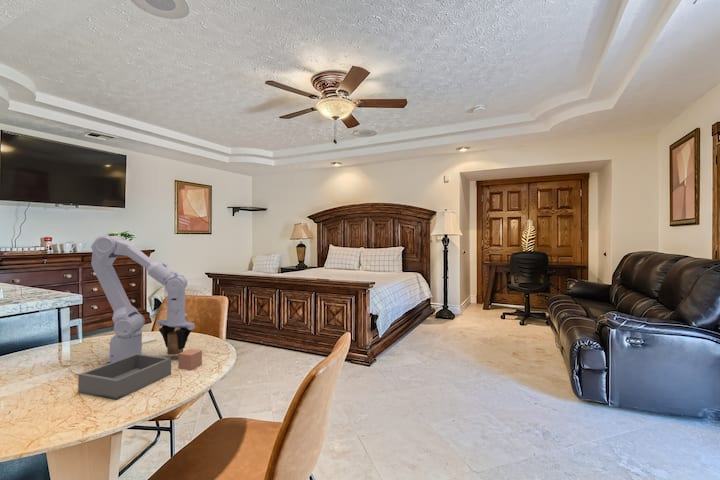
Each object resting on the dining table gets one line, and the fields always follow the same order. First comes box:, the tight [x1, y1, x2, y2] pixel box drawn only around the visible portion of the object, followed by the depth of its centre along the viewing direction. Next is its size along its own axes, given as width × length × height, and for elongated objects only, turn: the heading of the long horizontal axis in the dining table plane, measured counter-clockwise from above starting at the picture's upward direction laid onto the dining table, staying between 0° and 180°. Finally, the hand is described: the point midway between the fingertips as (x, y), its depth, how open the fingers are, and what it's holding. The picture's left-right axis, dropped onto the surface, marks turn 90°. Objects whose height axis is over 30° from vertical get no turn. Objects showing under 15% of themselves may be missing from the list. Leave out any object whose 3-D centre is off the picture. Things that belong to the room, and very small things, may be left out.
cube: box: [177, 348, 203, 371], centre depth 115 cm, size 5×5×5 cm
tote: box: [77, 353, 172, 401], centre depth 102 cm, size 14×18×5 cm
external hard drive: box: [142, 335, 158, 346], centre depth 139 cm, size 2×8×12 cm
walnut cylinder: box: [166, 331, 184, 356], centre depth 123 cm, size 5×5×7 cm
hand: (175, 347), depth 123 cm, fingers closed on walnut cylinder, 5 cm apart
